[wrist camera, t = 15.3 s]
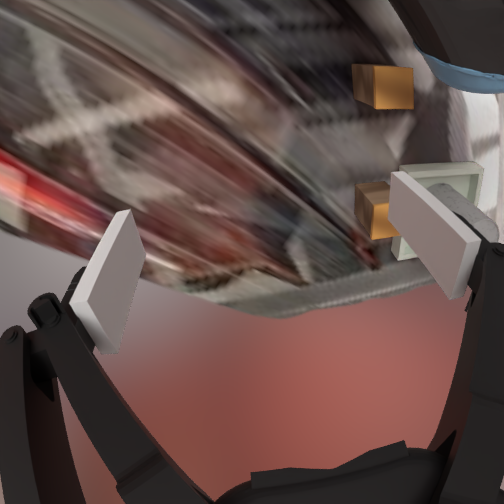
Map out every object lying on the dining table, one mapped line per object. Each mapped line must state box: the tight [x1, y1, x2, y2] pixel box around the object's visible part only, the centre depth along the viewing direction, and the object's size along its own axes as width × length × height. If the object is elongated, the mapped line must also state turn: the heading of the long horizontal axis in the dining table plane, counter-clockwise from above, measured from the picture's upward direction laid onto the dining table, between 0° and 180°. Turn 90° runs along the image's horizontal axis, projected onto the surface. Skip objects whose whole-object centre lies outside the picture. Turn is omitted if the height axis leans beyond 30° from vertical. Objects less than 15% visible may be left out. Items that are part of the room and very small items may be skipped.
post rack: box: [351, 64, 414, 240], centre depth 39 cm, size 23×5×8 cm, turn 7°
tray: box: [391, 162, 484, 261], centre depth 48 cm, size 16×16×3 cm
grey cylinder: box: [426, 183, 499, 243], centre depth 43 cm, size 10×10×12 cm
